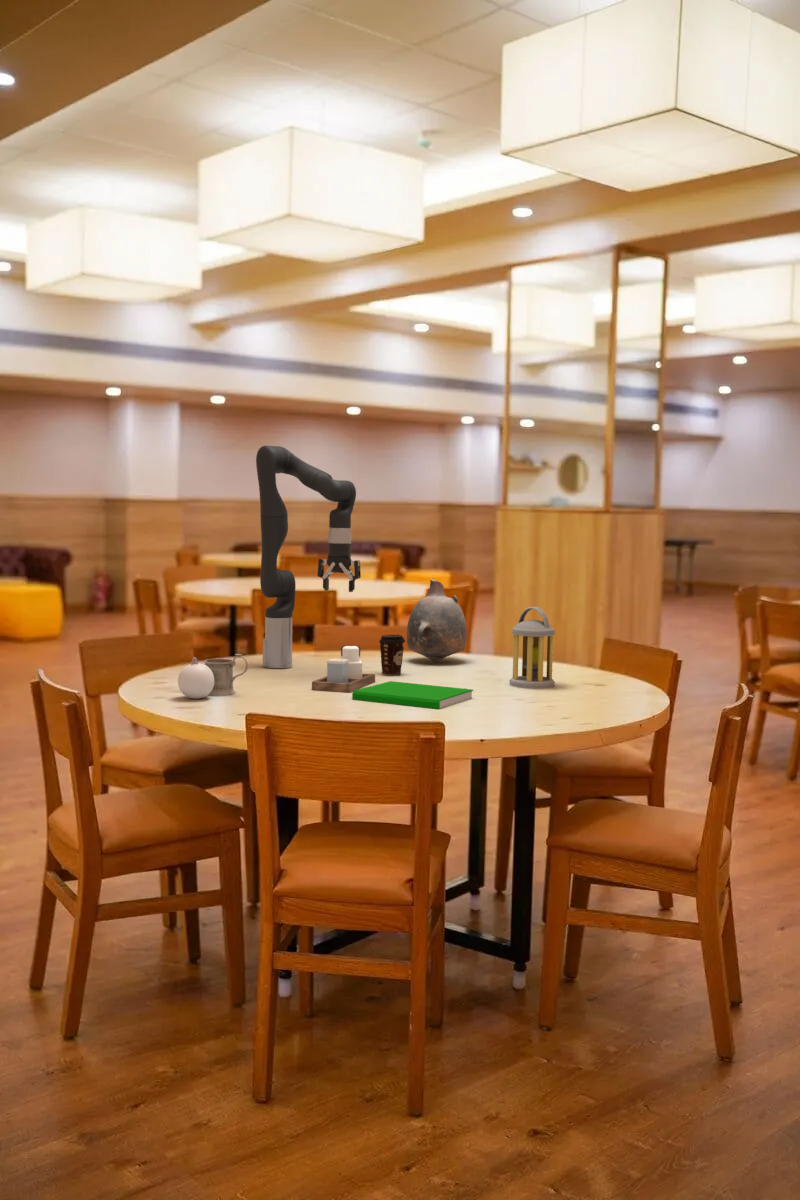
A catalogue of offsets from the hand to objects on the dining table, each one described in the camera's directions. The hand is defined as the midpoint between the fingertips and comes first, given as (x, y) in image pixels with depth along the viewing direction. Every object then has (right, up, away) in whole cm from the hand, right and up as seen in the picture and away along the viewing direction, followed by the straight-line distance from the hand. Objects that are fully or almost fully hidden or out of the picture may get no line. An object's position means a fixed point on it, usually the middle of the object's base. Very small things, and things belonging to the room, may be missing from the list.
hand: (338, 591), depth 391 cm
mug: (-32, -31, -37) cm, 58 cm away
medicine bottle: (+4, -29, -15) cm, 33 cm away
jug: (+33, -25, +37) cm, 56 cm away
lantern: (+62, -30, -12) cm, 70 cm away
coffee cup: (+17, -28, +5) cm, 33 cm away
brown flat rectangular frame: (+3, -30, -20) cm, 36 cm away
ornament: (-39, -32, -46) cm, 68 cm away
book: (+24, -33, -41) cm, 58 cm away
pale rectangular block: (+1, -30, -25) cm, 39 cm away
